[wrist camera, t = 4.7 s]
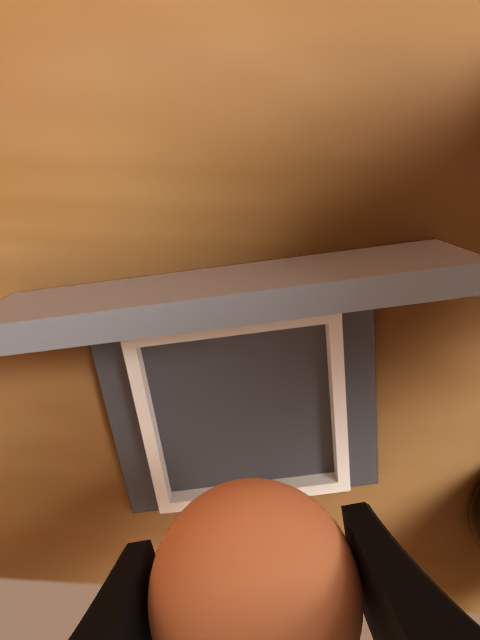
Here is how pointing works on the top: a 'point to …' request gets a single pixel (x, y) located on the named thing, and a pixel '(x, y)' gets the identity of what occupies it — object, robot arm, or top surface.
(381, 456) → the top surface
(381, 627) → the robot arm
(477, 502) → the supplement bottle
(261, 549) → the coral ball
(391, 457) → the top surface
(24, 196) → the top surface
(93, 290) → the grey wall
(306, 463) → the mat
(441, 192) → the top surface
